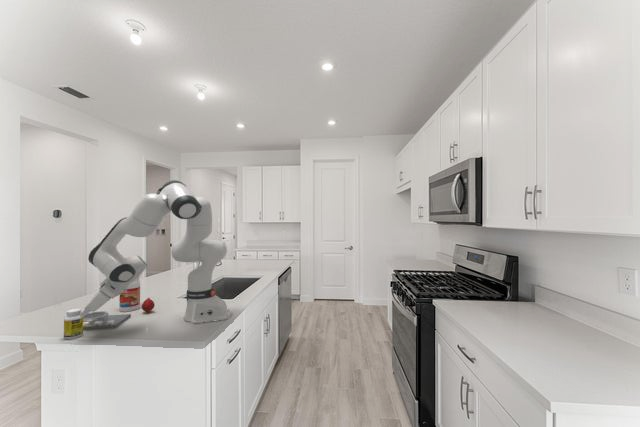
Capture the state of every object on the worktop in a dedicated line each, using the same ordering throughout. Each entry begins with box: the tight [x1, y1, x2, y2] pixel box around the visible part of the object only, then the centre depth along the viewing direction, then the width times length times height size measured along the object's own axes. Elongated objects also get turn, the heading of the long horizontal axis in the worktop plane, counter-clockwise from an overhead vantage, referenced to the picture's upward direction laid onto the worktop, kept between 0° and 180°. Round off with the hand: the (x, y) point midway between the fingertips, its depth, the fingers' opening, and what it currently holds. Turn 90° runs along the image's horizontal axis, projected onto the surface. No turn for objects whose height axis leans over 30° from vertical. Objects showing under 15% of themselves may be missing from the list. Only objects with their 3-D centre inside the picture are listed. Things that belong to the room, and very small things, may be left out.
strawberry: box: [141, 297, 155, 314], centre depth 151 cm, size 6×6×8 cm
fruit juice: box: [119, 256, 141, 313], centre depth 157 cm, size 9×9×28 cm
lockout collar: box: [83, 310, 109, 324], centre depth 136 cm, size 10×10×2 cm
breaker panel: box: [83, 313, 132, 331], centre depth 136 cm, size 18×15×3 cm
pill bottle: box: [63, 308, 84, 340], centre depth 121 cm, size 6×6×11 cm
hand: (83, 312), depth 122 cm, fingers open, 8 cm apart
